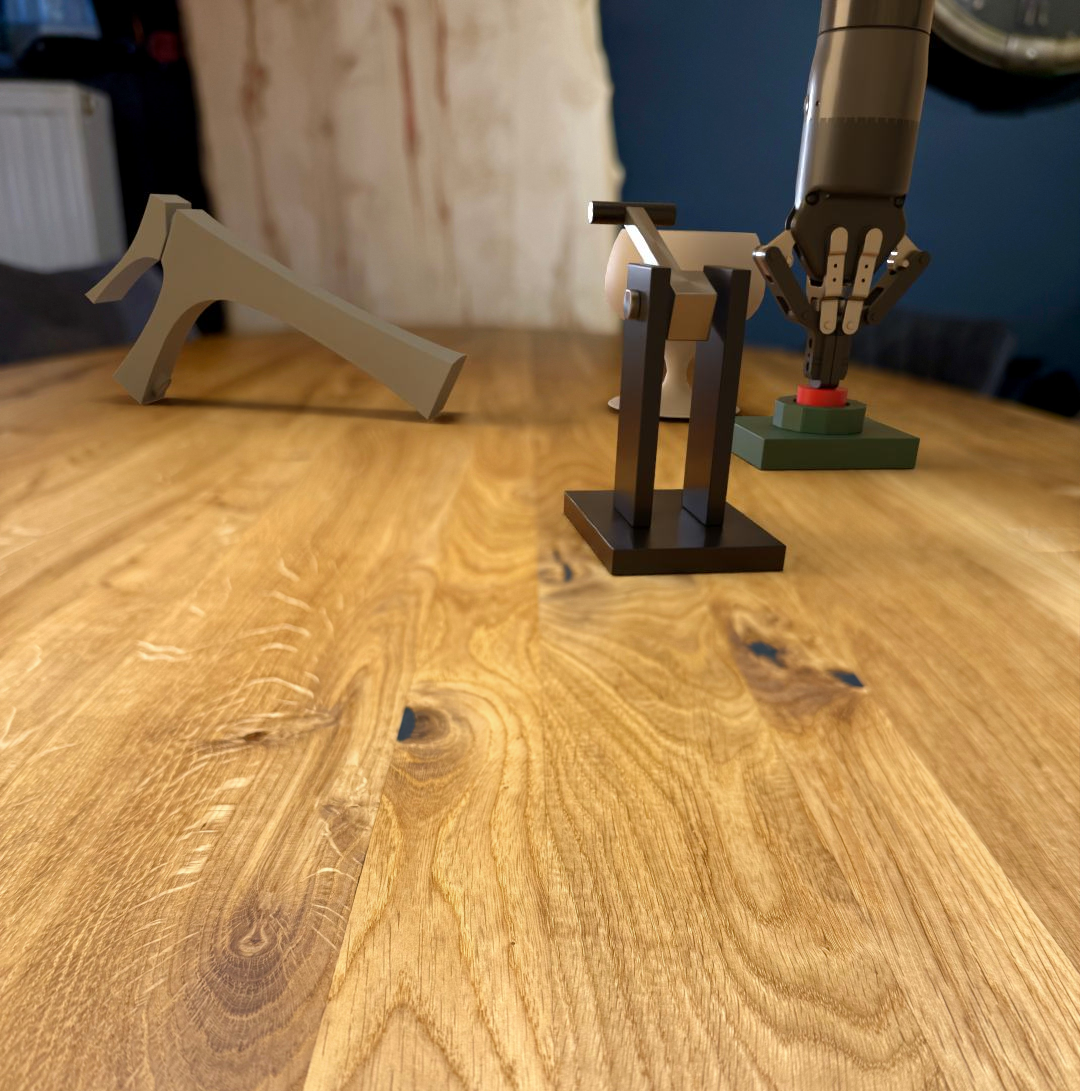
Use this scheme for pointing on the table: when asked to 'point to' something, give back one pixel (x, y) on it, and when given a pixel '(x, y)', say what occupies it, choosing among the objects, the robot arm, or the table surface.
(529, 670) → the table surface
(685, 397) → the chalice
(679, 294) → the lever
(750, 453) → the button box
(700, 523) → the bracket
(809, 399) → the button
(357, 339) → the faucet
